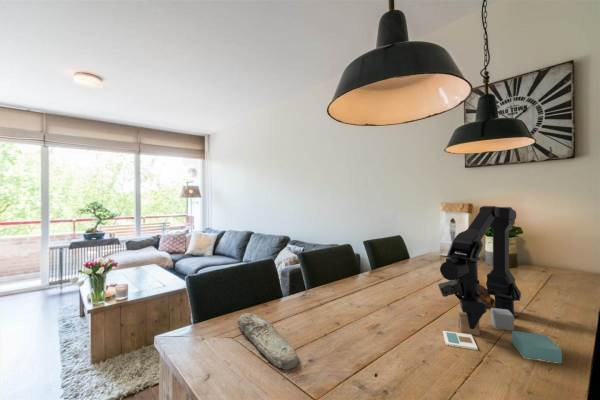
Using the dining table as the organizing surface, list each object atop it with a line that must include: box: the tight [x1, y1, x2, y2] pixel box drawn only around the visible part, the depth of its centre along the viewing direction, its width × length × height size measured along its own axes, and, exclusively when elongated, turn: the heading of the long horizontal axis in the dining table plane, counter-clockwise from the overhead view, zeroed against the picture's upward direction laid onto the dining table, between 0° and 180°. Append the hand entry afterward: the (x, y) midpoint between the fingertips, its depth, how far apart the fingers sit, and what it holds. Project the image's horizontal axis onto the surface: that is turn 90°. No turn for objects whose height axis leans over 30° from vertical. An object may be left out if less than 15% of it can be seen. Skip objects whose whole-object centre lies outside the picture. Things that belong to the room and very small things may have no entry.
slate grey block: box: [490, 307, 515, 331], centre depth 89 cm, size 5×5×5 cm
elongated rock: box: [237, 312, 299, 370], centre depth 84 cm, size 35×5×10 cm
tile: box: [442, 330, 479, 351], centre depth 81 cm, size 8×8×1 cm
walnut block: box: [457, 311, 480, 337], centre depth 87 cm, size 5×5×5 cm
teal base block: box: [511, 330, 563, 364], centre depth 74 cm, size 8×8×4 cm
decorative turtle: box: [475, 283, 495, 306], centre depth 110 cm, size 10×15×8 cm, turn 22°
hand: (468, 322), depth 87 cm, fingers open, 9 cm apart
